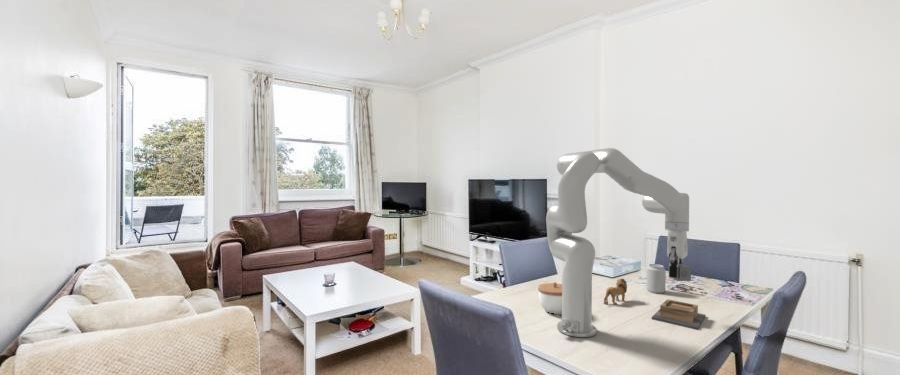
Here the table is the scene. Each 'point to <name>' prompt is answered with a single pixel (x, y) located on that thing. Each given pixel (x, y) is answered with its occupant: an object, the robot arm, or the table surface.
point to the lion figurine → (616, 291)
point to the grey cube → (683, 273)
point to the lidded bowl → (551, 297)
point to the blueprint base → (681, 323)
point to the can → (656, 278)
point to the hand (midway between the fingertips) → (676, 275)
